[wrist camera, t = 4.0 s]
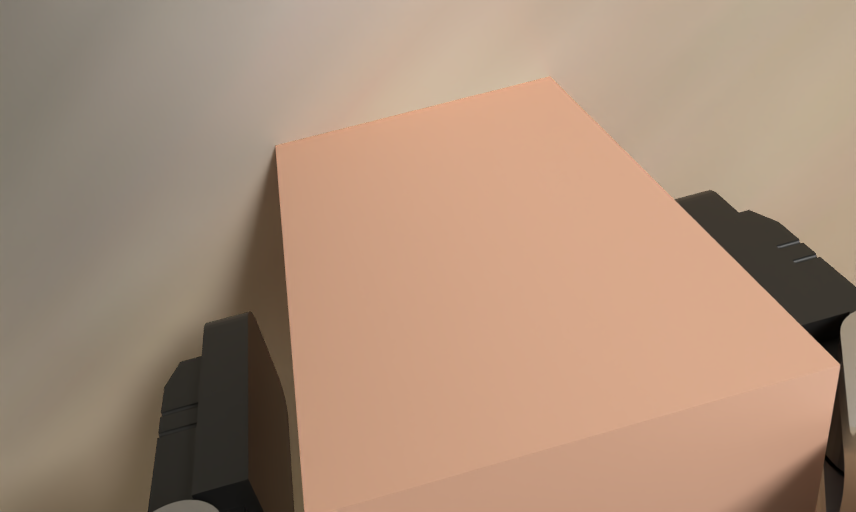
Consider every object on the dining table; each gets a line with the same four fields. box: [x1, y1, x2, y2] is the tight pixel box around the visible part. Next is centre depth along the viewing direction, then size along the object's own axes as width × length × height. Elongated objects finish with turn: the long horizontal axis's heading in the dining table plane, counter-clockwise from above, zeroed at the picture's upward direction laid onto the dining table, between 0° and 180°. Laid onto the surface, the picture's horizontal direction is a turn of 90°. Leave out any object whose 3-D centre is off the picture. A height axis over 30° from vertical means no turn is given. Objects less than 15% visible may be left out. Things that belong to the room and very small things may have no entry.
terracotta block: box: [275, 77, 840, 512], centre depth 11 cm, size 5×5×8 cm
